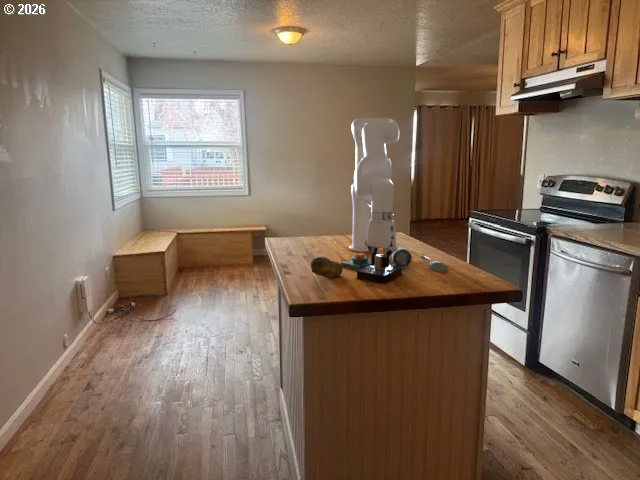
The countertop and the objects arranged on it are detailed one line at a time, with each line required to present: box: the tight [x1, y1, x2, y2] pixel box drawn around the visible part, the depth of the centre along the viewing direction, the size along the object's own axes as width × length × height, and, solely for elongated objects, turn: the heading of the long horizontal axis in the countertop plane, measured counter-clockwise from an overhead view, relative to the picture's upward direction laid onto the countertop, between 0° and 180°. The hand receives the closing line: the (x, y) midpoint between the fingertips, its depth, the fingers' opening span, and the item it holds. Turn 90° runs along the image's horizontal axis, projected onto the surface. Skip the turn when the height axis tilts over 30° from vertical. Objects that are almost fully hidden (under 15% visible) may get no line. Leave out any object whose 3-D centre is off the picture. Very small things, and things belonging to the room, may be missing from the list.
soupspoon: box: [420, 253, 448, 273], centre depth 177 cm, size 22×3×7 cm
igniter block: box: [340, 255, 371, 271], centre depth 175 cm, size 12×10×4 cm
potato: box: [310, 256, 344, 279], centre depth 158 cm, size 8×13×8 cm, turn 108°
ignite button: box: [355, 252, 366, 259], centre depth 174 cm, size 4×4×2 cm
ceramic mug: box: [389, 246, 413, 269], centre depth 174 cm, size 11×8×8 cm
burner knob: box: [374, 253, 386, 270], centre depth 159 cm, size 4×4×5 cm
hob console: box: [356, 264, 403, 285], centre depth 160 cm, size 14×11×3 cm
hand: (380, 265), depth 159 cm, fingers closed on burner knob, 4 cm apart
